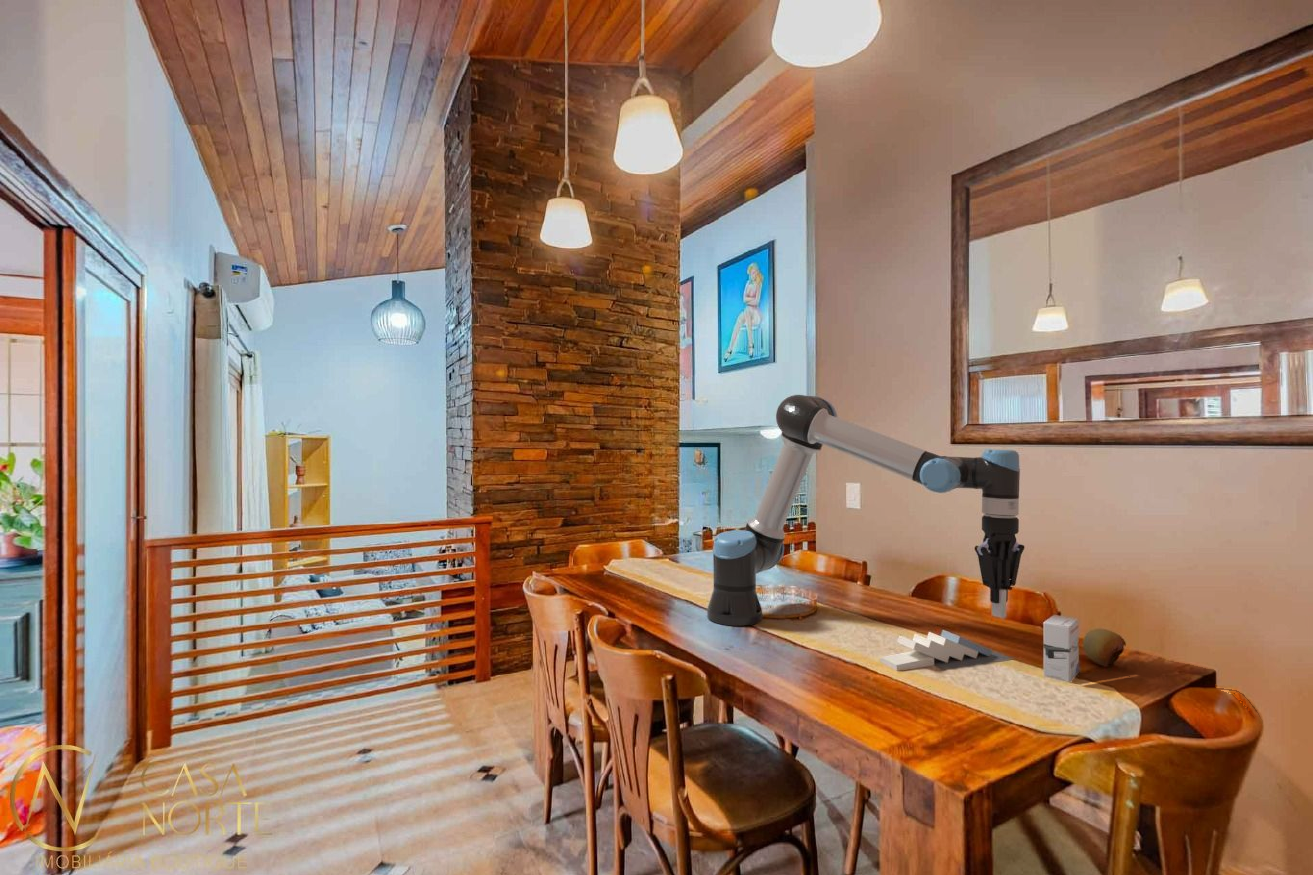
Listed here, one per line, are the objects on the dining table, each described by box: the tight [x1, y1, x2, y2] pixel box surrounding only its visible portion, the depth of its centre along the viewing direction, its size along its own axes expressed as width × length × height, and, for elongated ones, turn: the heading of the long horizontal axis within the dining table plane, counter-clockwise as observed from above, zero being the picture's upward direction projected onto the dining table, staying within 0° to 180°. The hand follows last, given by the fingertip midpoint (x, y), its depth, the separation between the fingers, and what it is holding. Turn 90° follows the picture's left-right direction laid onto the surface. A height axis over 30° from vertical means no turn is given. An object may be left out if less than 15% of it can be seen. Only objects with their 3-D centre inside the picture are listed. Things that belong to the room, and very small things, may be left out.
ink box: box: [1042, 614, 1080, 683], centre depth 128 cm, size 8×5×12 cm, turn 134°
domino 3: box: [912, 633, 964, 661], centre depth 137 cm, size 2×5×10 cm
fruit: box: [1082, 628, 1127, 668], centre depth 134 cm, size 8×8×8 cm
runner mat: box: [932, 650, 1015, 671], centre depth 139 cm, size 11×20×1 cm, turn 109°
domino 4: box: [926, 631, 978, 658], centre depth 138 cm, size 2×5×10 cm
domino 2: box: [897, 635, 949, 663], centre depth 135 cm, size 2×5×10 cm
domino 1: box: [880, 650, 934, 672], centre depth 134 cm, size 2×5×10 cm
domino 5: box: [940, 629, 993, 656], centre depth 139 cm, size 2×5×10 cm
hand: (998, 616), depth 143 cm, fingers closed
